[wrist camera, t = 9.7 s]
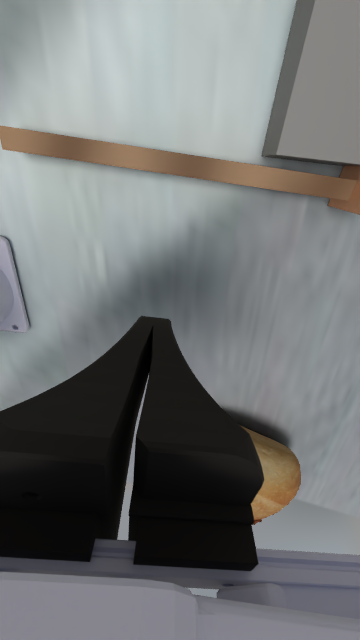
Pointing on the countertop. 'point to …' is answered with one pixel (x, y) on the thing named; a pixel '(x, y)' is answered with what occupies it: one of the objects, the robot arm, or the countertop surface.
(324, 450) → the countertop surface
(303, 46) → the block
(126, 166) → the rail lane
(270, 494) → the bread roll
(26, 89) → the countertop surface
